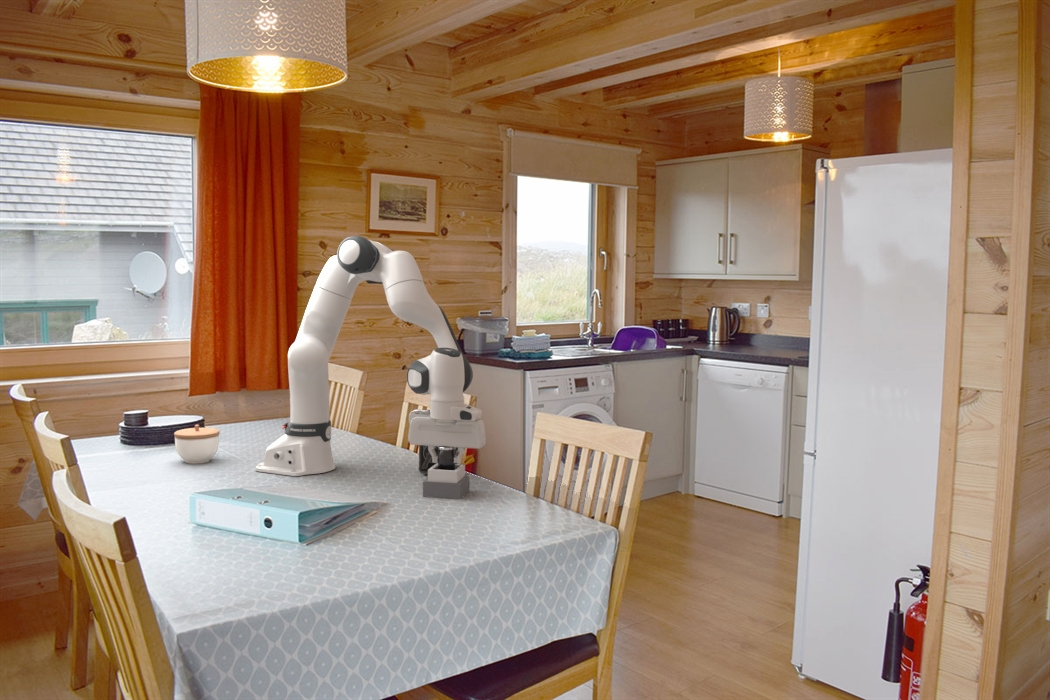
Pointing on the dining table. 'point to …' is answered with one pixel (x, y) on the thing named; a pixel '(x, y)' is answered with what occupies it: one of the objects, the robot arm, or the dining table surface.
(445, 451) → the lens
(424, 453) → the camera
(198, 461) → the lidded bowl
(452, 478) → the mount block
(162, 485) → the dining table surface
